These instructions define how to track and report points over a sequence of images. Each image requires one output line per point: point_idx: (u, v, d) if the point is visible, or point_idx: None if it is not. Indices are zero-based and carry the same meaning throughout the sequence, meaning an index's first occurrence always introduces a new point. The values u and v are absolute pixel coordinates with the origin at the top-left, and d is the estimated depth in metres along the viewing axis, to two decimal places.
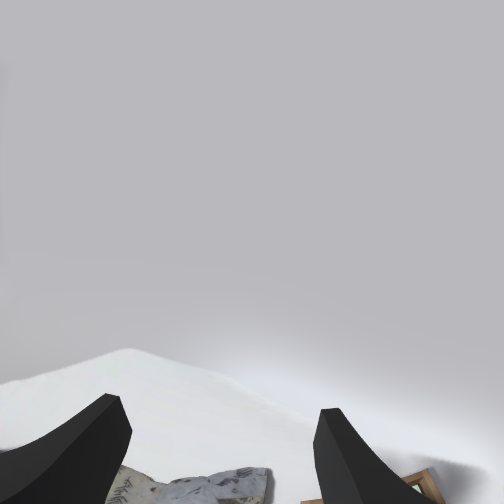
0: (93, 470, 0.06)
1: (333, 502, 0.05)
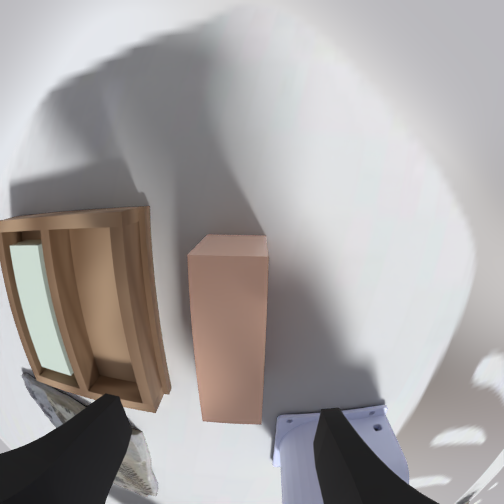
0: (93, 470, 0.06)
1: (333, 502, 0.05)
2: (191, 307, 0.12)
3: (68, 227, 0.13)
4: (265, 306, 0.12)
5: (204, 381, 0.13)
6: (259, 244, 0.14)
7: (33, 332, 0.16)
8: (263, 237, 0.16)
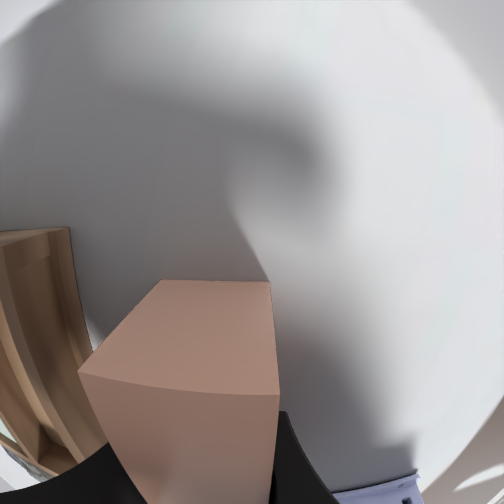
0: None
1: None
2: (116, 453, 0.04)
3: None
4: (269, 470, 0.04)
5: None
6: (256, 322, 0.06)
7: None
8: (265, 290, 0.08)
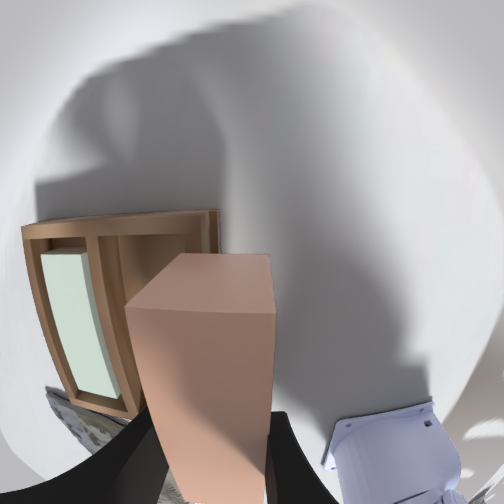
0: (144, 485, 0.06)
1: None
2: (144, 387, 0.06)
3: (126, 233, 0.12)
4: (269, 393, 0.06)
5: (180, 470, 0.07)
6: (258, 277, 0.08)
7: (70, 353, 0.15)
8: (265, 259, 0.10)
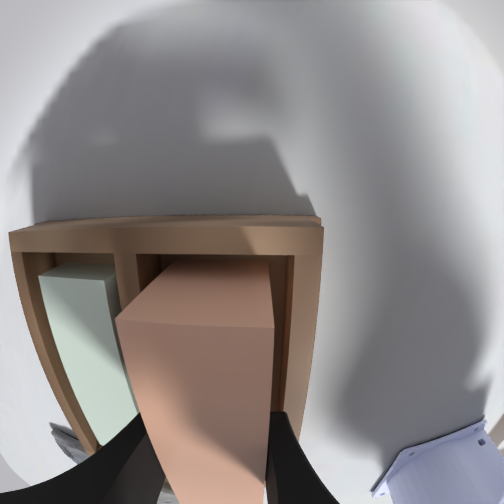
0: (144, 485, 0.06)
1: None
2: (137, 400, 0.06)
3: (190, 251, 0.08)
4: (267, 407, 0.06)
5: (177, 480, 0.07)
6: (256, 285, 0.08)
7: (88, 407, 0.10)
8: (263, 266, 0.09)
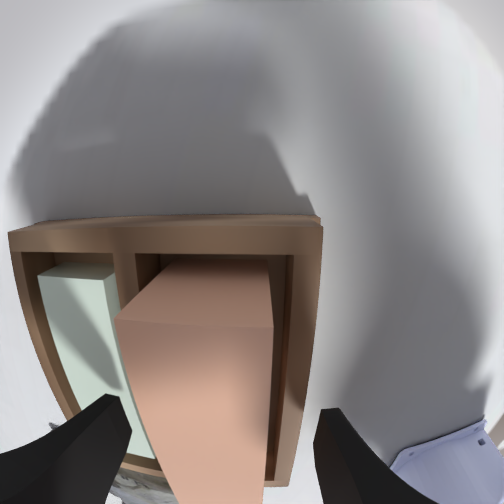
0: (93, 470, 0.06)
1: (333, 502, 0.05)
2: (136, 400, 0.06)
3: (189, 251, 0.08)
4: (266, 407, 0.06)
5: (176, 480, 0.07)
6: (255, 285, 0.08)
7: None
8: (263, 266, 0.09)
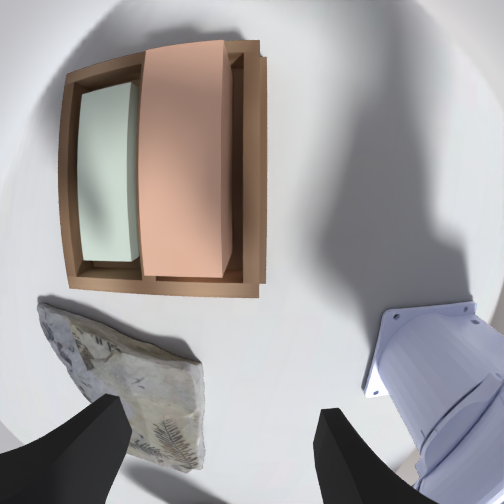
0: (93, 470, 0.06)
1: (333, 502, 0.05)
2: (142, 96, 0.10)
3: None
4: (220, 84, 0.09)
5: (147, 196, 0.11)
6: None
7: (85, 203, 0.14)
8: None
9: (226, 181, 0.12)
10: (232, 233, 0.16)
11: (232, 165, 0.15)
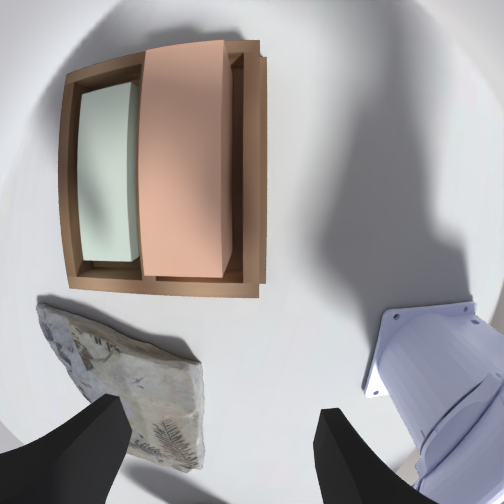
0: (93, 470, 0.06)
1: (333, 502, 0.05)
2: (142, 96, 0.10)
3: None
4: (220, 84, 0.09)
5: (147, 196, 0.11)
6: None
7: (85, 203, 0.14)
8: None
9: (226, 181, 0.12)
10: (232, 233, 0.16)
11: (232, 165, 0.15)
